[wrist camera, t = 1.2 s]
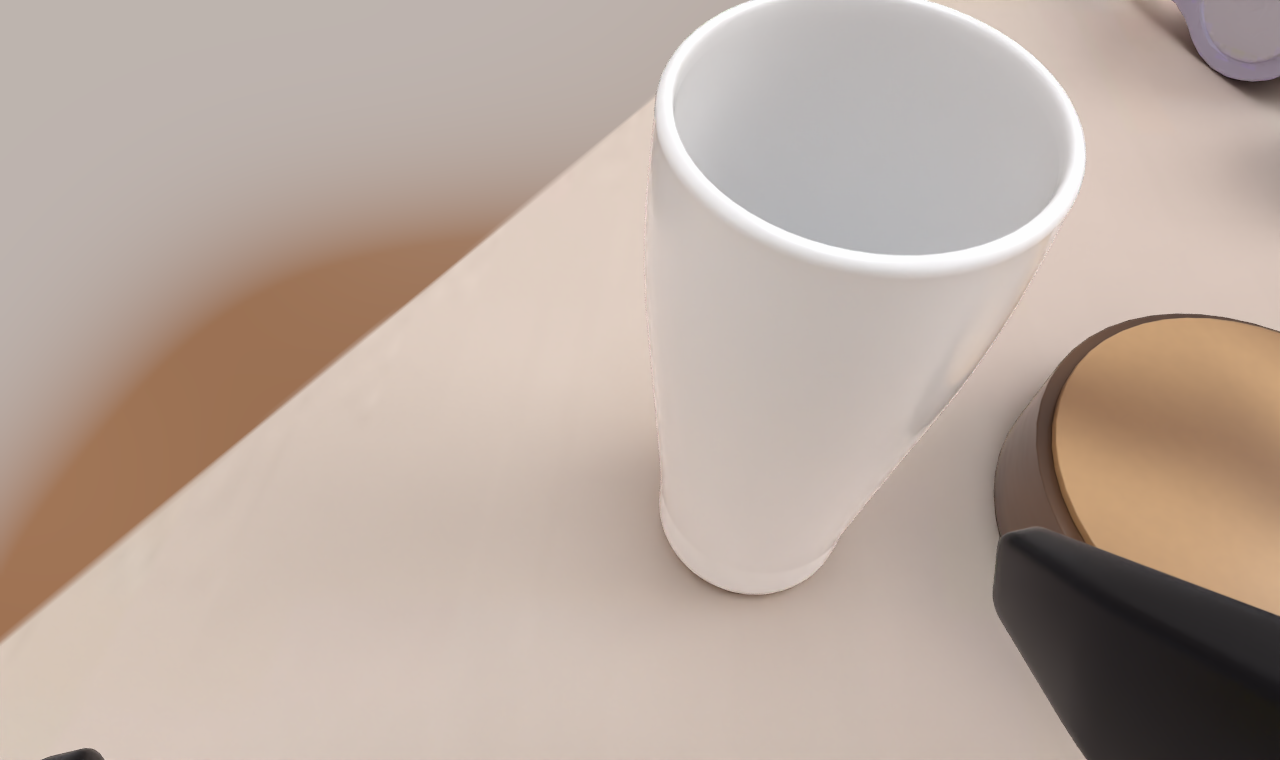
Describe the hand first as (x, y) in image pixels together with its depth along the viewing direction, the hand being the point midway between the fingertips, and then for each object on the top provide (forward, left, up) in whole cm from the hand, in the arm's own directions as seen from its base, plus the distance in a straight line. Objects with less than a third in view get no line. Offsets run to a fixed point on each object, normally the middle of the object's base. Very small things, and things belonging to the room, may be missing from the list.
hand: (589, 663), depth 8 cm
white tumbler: (+4, -8, -15) cm, 18 cm away
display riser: (-4, -19, -15) cm, 24 cm away
